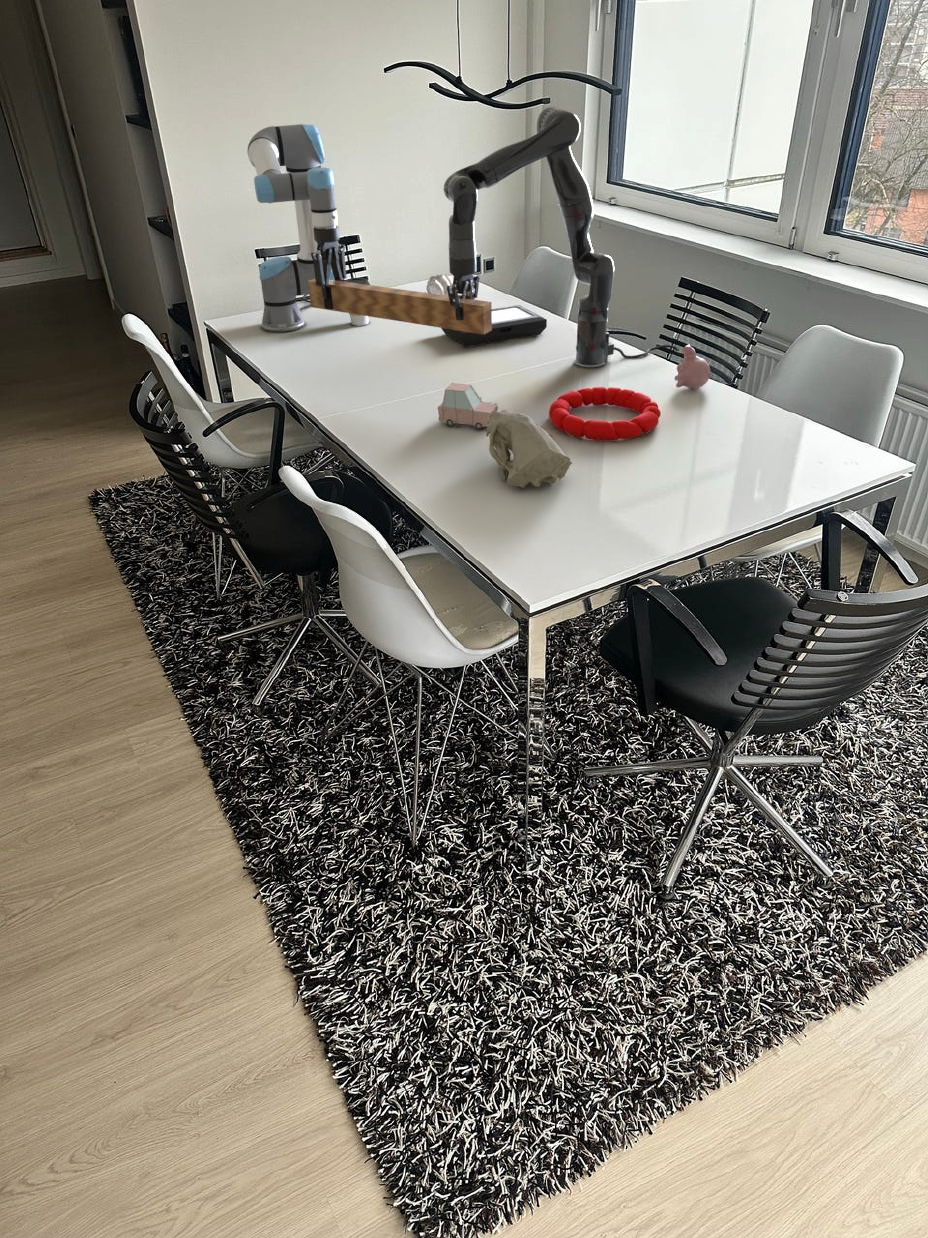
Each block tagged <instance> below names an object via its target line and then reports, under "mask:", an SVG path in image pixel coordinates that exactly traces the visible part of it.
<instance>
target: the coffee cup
mask: <svg viewBox="0 0 928 1238" xmlns="http://www.w3.org/2000/svg"><path fill="white" fill-rule="evenodd" d="M344 280H345V282H351V283H358V284H365V285H371V283H370V282H369V279H367V278H365V277H351V278H346V279H344ZM348 314H349V318H350V323H351V325H353V326H357V327H359V326H365V325H368V324H369V317H370V316H364V315H357V314H351V313H348Z"/></svg>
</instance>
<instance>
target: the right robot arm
mask: <svg viewBox="0 0 928 1238" xmlns="http://www.w3.org/2000/svg"><path fill="white" fill-rule="evenodd" d="M580 133H581V122H580V119H579V118H578V116H577V115H576V114H575V113H573V112H572V111H570V110H567V109H565V108H561V107H558V106H551V105H550V106H547V107H545V108H543V109H542V110H541V112H540V113H539V114H538V117H537V120H536V133H535V134H533V135H532V136H529V137H528V138H525V139H524V140H520V141H518V142H513V143H511V144H508V145H506V146H503V147H501V148H498V149H497V150H495V151H493V152H491V153H489V154H488V155H486V156H485V157H484V158H482V159H480V160H479V161H477V162H476V163H473V164H470V165H468V166H466V167H463V168H460V169H459V170H456V171H455V172H453V173H452V174H450V175H449V176H448V177H447V178H446V180H445V181H444V184H443V194H444V196H445V197H446V199H447V200H449V201H450V202H452V203H453V204H452V205H453V206H452V207H453V208H452V214H451V215H450V216H449V218H448V265H449V267H448V268H449V273H450V274H451V275H452V276H453V277H452V278H453V284H452V285H451V286H449V285H448V286H447V291H448V296H449V301H450V305H451V306H455V315H456V320H460V321H462V320H463V319H464V317H463V302H464V299H465V298H466V299H473V300H476V299H477V298H478V295H479V286H480V275H475V274H476V273H477V243H476V233H475V232H476V231H475V229H476V227H475V218H476V213H477V208H478V200H479V199H478V198H479V193H478V191H479V190H482V189H489V188H492V187H494V186H496V185H497V184H499V183H500V182H502V181H504V180H505V179H507V178H509V177H510V176H512V175H513V174H515V173H517V172H519V171H520V170H522V169H524V168H525V167H527V166H529V165H532V164H533V163H536V162H538V161H540V160H542V159H544V158H546V161H547V164H548V167H549V170H550V175H551V179H552V183H553V186H554V190H555V194H556V198H557V203H558V206H559V210H560V214H561V217H562V220H563V224H564V227H565V233H566V236H567V240H568V244H569V249H570V257H571V262H572V263H571V264H572V268H573V269H572V270H573V273H574V276H575V279H577V281H578V282H580V283H582V284H584V285H588V286H589V289H588V290H589V292H588V294H587V295H583V296H581V297H580V298H579V299H578V301H577V302H578V303H577V324H576V325H577V327H576V345H575V365H576V366H578V367H582V368H587V369H588V368H589V369H591V368H592V369H594V368H599V367H603V366H604V365H605V364H608V362H609V361H608V358H609V356H612V355H614V353H615V351H617V352H619V354H620V355H621V356H622V357H623V358H624V359H637V358H641V357H645V356H647V355H648V354H649V353H650V352H651V351H656V350H659V349H665V348H668V349H669V348H671V349H673V350H675V351H676V352H679V351H680V349H679V348H678V347H677V346H675V345H671V344H662V345H658V346H654V347H649V348H647V350H646V351H645V352H644V353H640V354H635V355H627V354H625V353H624V351H623V350H622V349H621V348H619V347H617V346H615V344H614V343H612V342H610V333H609V332H608V315H609V304H610V300H611V298H612V293H613V286H614V285H613V284H614V277H615V264H614V260H613V258H612V257H611V256H610V255H608V254H604V253H599V252H595V251H594V249H593V247H592V243H591V238H590V227H591V224H592V220H593V217H594V213H595V212H594V211H595V210H594V204H593V203H594V202H593V199H592V195H591V190H590V187H589V183H588V182H587V180H586V178H585V176H584V174H583V172H582V171H581V169H580V167H579V165H578V163H577V161H576V160H575V157H574V156H573V153H572V150H571V146H573V145H574V144H575V143H576V141H577V140H578V138H579V136H580ZM459 298H460V302H459ZM453 299H454V301H453Z"/></svg>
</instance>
